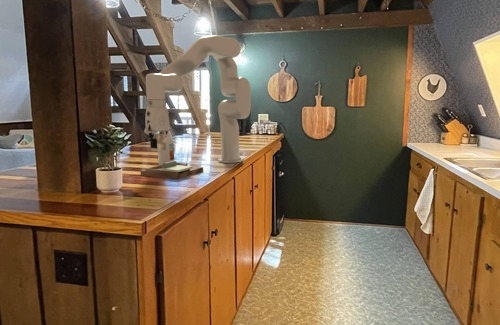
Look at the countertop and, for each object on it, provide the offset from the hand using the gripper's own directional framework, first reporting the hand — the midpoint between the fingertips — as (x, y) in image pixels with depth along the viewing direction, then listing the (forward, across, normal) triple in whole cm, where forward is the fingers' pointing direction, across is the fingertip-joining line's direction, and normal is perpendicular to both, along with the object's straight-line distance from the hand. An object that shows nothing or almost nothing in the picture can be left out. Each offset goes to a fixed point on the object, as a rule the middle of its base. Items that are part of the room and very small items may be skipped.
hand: (158, 147), depth 153 cm
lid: (+9, 0, -10) cm, 13 cm away
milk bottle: (+12, +20, +14) cm, 27 cm away
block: (+1, 0, 0) cm, 1 cm away
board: (+12, +5, -3) cm, 13 cm away
